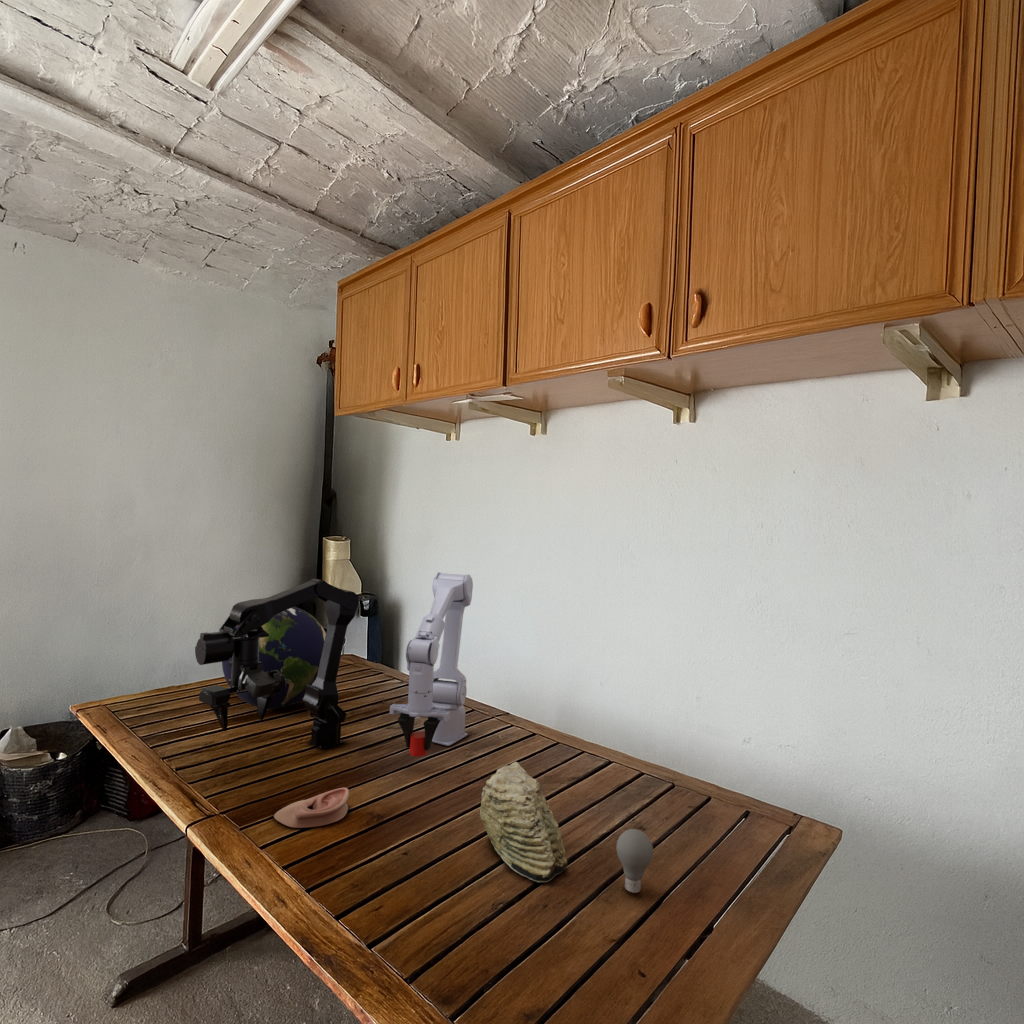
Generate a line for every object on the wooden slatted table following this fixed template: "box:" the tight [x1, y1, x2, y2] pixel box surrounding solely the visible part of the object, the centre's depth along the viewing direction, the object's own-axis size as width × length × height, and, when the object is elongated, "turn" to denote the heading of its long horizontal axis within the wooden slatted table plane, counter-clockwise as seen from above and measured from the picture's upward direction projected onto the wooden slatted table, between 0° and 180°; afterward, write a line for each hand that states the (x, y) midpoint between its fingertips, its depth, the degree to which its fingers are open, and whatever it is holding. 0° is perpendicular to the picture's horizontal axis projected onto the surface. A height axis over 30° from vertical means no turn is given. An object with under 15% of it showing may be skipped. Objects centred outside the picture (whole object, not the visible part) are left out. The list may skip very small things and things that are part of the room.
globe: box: [221, 606, 326, 709], centre depth 188 cm, size 30×30×30 cm
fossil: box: [479, 761, 569, 883], centre depth 114 cm, size 9×18×15 cm, turn 46°
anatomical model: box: [273, 787, 350, 829], centre depth 126 cm, size 13×4×12 cm
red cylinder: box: [409, 731, 428, 758], centre depth 149 cm, size 4×4×4 cm
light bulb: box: [615, 828, 654, 894], centre depth 106 cm, size 6×6×10 cm
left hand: (243, 725), depth 146 cm, fingers open, 9 cm apart
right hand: (418, 747), depth 149 cm, fingers closed on red cylinder, 4 cm apart
